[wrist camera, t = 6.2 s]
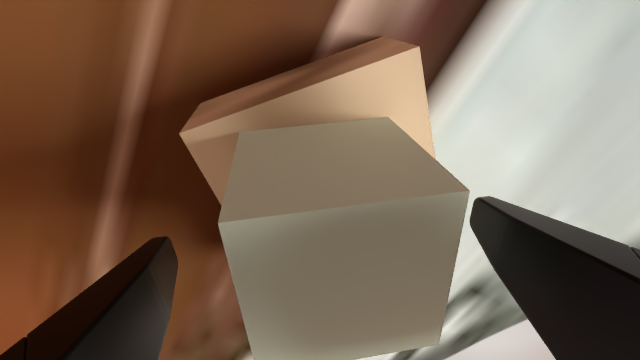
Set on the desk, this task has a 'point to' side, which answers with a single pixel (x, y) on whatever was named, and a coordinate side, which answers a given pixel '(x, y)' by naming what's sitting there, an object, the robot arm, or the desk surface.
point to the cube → (340, 240)
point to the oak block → (314, 103)
